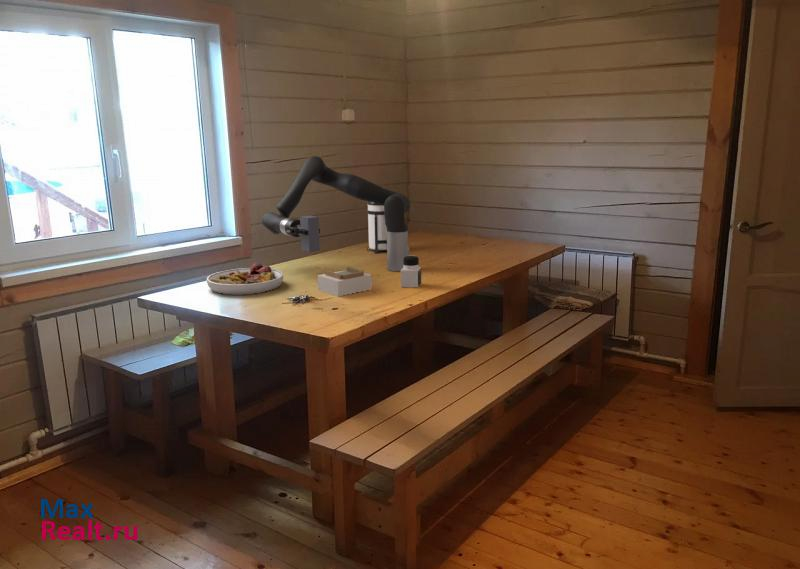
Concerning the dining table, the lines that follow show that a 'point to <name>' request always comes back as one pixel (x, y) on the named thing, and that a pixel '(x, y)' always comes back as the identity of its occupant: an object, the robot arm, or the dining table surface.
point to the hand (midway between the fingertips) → (313, 231)
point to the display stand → (344, 282)
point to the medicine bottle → (411, 272)
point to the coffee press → (376, 227)
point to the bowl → (245, 280)
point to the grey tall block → (310, 233)
